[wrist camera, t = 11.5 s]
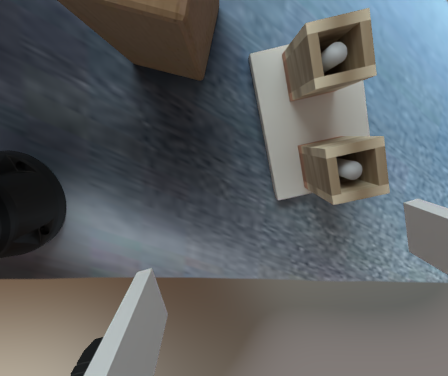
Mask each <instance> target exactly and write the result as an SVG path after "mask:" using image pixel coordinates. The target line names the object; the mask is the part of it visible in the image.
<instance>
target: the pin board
mask: <svg viewBox="0 0 448 376" xmlns="http://www.w3.org/2000/svg"><path fill="white" fill-rule="evenodd" d="M288 46H289V45H285V46H281V47H276V48H272V49H268V50H264V51H260V52H255V53H251V54H250V55H249V58H248V59H249V64H250V69H251V74H252V80H253V85H254V90H255V95H256V100H257V105H258V111H259V116H260V121H261V126H262V131H263V136H264V142H265V147H266V152H267V157H268V162H269V168H270V173H271V178H272V183H273V188H274V193H275V198H276V199H277V200H282V199H287V198H291V197H296V196H301V195H305V194H310V193H313V192H311V191H310V190H308V189H306V188H305V187H304V182H303V176H302V170H301V164H300V158H299V152H298V145H303V144H307V143H312V142H316V141H321V140H325V139H330V138H334V137H339V136H370V133H369V125H368V116H367V108H366V99H365V91H364V83H363V81H360V82H357V83H355V84H352V85H350V86H347V87H345V88H342V89H339V90H337V91H334V92H330V93H326V94H321V95H317V96H313V97H308V98H304V99H300V100H295V101H291V102H290V101H289V95H288V89H287V83H286V77H285V71H284V65H283V60H282V54H283V52H284V51H285V50H286V48H287V47H288ZM346 56H347V47H346V46H345V44H343V43H342V42H334V43H333V44H331V45H330V46H329V47H328V48H326V49H325V50H324V51H323V52H321V58H322V65H323V72H324V73H325V72H326V71H328V70H329V69H331V68H333V67H334V66H336V65H338V64H339V63H341V62H343V61H344V60H345V58H346ZM336 159H337V166H338V173H339V176H341V177H344V178H347V179H350V180H355V179H357V178H359V177H360V175H361V174H362V166H361V164H360V163H358V162H356V161H351V160H345V159H340V158H336Z"/></svg>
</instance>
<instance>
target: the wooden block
mask: <svg viewBox="0 0 448 376" xmlns="http://www.w3.org/2000/svg"><path fill="white" fill-rule="evenodd" d="M57 1H59V2H60V3H61V4H62V5H64V6H65V7H66V8H67V9H68V10H70V11H71V12H72V13H73V14H74V15H76V16H77V17H78V18H79V19H80V20H82V21H83V22H84V23H85V24H86V25H88V26H89V27H90V28H91V29H92V30H94V31H95V32H96V33H97V34H98V35H100V36H101V37H102V38H103V39H105V40H106V41H107V42H108V43H109V44H111V45H112V46H113V47H114V48H115V49H117V50H118V51H119V52H120V53H121V54H123V55H124V56H125V57H126V58H127V59H129V60H130V61H131V62H132V63H134V64H136V65H140V66H144V67H148V68H152V69H156V70H160V71H164V72H168V73H172V74H175V75H179V76H183V77H187V78H191V79H195V80H199V81H201V80H203V79H204V75H205V71H206V66H207V61H208V57H209V52H210V47H211V43H212V38H213V33H214V28H215V24H216V19H217V14H218V10H219V0H57Z"/></svg>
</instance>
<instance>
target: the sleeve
mask: <svg viewBox="0 0 448 376" xmlns="http://www.w3.org/2000/svg"><path fill="white" fill-rule="evenodd" d="M298 152H299V158H300V164H301V170H302V176H303V182H304V187H305V188H306V189H308V190H310V191H311V192H313V193H314V194H316V195H318V196H319V197H321V198H323V199H324V200H326V201H327V202H329V203H331V204H332V205H336V204H341V203H345V202H350V201H355V200H359V199H364V198H369V197H373V196H378V195H383V194H387V193H390V191H389V182H388V172H387V163H386V153H385V143H384V136H339V137H334V138H330V139H325V140H321V141H316V142H312V143H307V144H303V145H298ZM336 158H340V159H345V160H351V161H356V162H358V163H360V164H361V166H362V174H361V175H360V177H359V178H357V179H355V180H350V179H347V178H344V177H341V176H339V173H338V166H337V159H336Z"/></svg>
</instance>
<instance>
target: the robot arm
mask: <svg viewBox="0 0 448 376" xmlns="http://www.w3.org/2000/svg"><path fill="white" fill-rule="evenodd" d="M404 211H405V220H406V229H407V237H408V246H409V252H411V253H412V254H414V255H416V256H417V257H419V258H421V259H422V260H424V261H426V262H427V263H429V264H431V265H432V266H434V267H436V268H437V269H439V270H441V271H442V272H444V273H446V274H447V275H448V208H445V207H442V206H439V205H436V204H433V203H430V202H427V201H423V200H420V199H416V200H412V201H408V202H404ZM65 213H66V201H65V196H64V192H63V189H62V187H61V185H60V183H59V181H58V179H57V178H56V176H55V175H54V174H53V173H52V171H51V170H50V169H49V168H48V167H47V166H45V165H44V164H43V163H42V162H40V161H39V160H37V159H35V158H34V157H32V156H29V155H27V154H24V153H20V152H16V151H0V258H4V257H9V256H15V255H21V254H25V253H28V252H31V251H33V250H35V249H37V248H39V247H40V246H42V245H44V244H45V243H47V242H48V241H50V240H51V239H52V238H53V237H54V236H55V235H56V234H57V233H58V231H59V230H60V228H61V226H62V224H63V222H64V218H65ZM167 316H168V314H167V311H166V308H165V305H164V302H163V299H162V296H161V293H160V290H159V287H158V285H157V282H156V278H155V276H154V273H153V270H152V268H151V269H147V270H143V271H139V272H137V274H136V276H135V277H134V280H133V281H132V283H131V285H130V287H129V289H128V291H127V293H126V295H125V297H124V299H123V301H122V303H121V304H120V306H119V309H118V310H117V312H116V314H115V316H114V318H113V320H112V322H111V324H110V326H109V328H108V330H107V332H106V334H105V336H104V337H102V338H98V339H95V340H94V341H93V342H92V343H91V344H90V345H89V346H88V347H87V348H86V349H85V350H84V352H83V353H82V355H81V357H80V359H79V360H78V362H77V366H75V367H74V369H73V371H72V372H71V376H154V372H155V368H156V364H157V359H158V355H159V351H160V346H161V342H162V338H163V333H164V329H165V325H166V320H167Z"/></svg>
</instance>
